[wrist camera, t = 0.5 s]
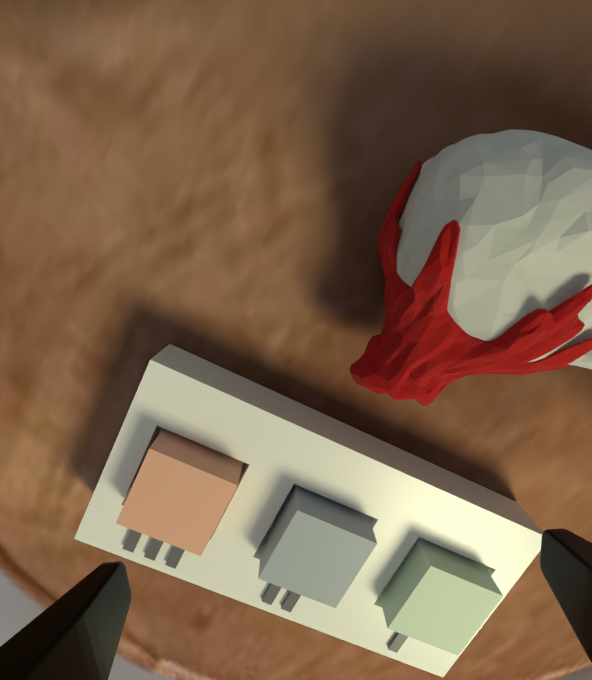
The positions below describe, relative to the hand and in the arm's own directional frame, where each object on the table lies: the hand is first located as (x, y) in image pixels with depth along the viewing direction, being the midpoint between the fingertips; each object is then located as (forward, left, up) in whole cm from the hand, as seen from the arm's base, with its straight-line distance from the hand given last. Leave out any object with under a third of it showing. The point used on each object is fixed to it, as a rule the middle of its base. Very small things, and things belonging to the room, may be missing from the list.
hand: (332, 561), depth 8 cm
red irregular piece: (-5, -8, -14) cm, 17 cm away
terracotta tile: (+3, +8, -11) cm, 14 cm away
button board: (-4, +8, -13) cm, 16 cm away
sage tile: (-12, +8, -11) cm, 18 cm away
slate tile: (-4, +8, -11) cm, 14 cm away
